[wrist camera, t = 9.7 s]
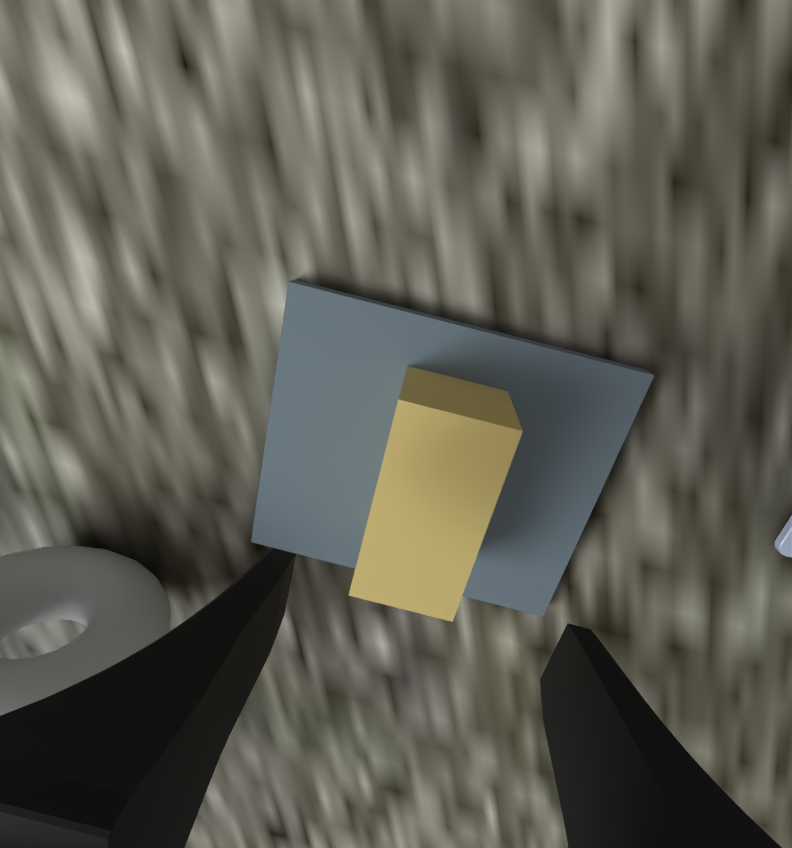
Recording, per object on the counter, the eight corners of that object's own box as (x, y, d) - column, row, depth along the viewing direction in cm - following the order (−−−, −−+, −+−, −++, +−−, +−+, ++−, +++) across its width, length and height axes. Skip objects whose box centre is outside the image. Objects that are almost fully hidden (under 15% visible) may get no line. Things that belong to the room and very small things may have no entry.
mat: (646, 369, 19) (654, 375, 18) (540, 604, 24) (543, 616, 23) (294, 279, 19) (288, 281, 18) (257, 532, 24) (250, 542, 23)
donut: (211, 556, 24) (69, 758, 15) (207, 609, 26) (74, 824, 17) (16, 510, 24) (-243, 683, 15) (22, 565, 26) (-214, 754, 17)
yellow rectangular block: (451, 555, 22) (452, 621, 18) (364, 533, 22) (348, 595, 18) (507, 391, 19) (522, 431, 15) (407, 365, 19) (398, 399, 15)
